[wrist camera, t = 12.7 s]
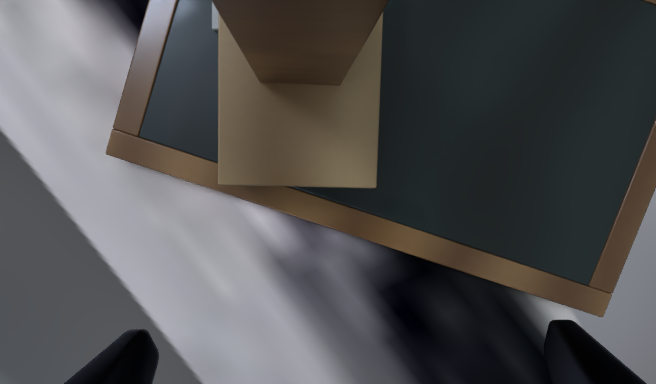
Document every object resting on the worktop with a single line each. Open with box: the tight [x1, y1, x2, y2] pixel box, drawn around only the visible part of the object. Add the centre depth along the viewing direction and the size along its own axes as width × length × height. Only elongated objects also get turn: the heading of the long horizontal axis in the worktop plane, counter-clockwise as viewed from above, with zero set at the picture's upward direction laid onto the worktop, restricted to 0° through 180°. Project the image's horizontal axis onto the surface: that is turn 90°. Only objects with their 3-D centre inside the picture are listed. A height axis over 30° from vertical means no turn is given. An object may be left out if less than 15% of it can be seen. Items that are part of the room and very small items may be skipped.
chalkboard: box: [106, 0, 656, 317], centre depth 19 cm, size 24×15×1 cm, turn 72°
